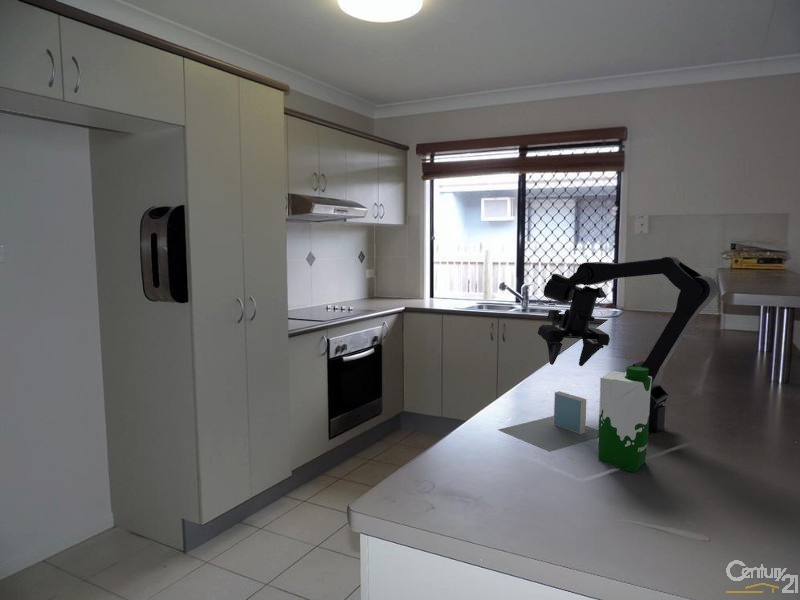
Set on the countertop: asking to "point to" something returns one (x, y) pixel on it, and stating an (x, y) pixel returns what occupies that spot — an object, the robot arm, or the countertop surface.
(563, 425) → the tile
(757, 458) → the countertop surface
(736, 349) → the countertop surface
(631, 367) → the milk carton
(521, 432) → the mat
